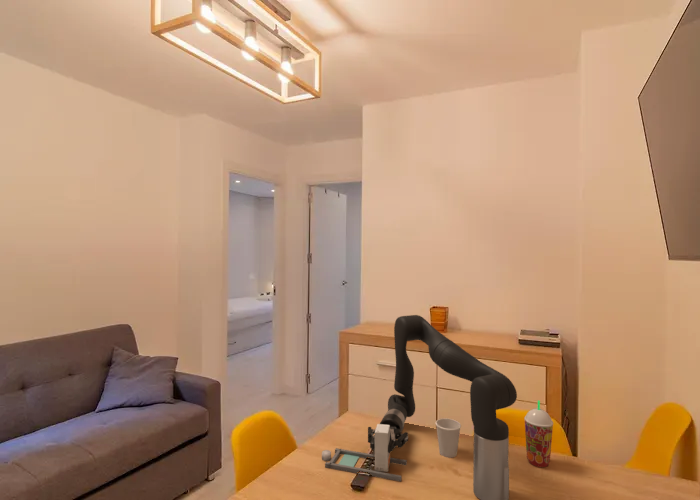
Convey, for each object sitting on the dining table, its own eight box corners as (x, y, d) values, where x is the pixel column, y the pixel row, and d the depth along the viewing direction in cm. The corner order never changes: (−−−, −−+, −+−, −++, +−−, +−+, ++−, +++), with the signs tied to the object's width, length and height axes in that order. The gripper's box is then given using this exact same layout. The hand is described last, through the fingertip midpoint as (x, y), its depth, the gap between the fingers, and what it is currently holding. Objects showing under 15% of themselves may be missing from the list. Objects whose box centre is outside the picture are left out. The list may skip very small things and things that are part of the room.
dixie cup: (460, 448, 137) (460, 419, 137) (461, 461, 129) (461, 430, 129) (435, 445, 139) (435, 416, 139) (434, 457, 131) (434, 427, 131)
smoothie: (518, 459, 130) (518, 398, 130) (536, 453, 134) (537, 394, 134) (540, 472, 123) (540, 407, 122) (558, 466, 126) (559, 403, 126)
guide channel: (406, 463, 127) (406, 457, 127) (400, 481, 118) (400, 474, 118) (327, 450, 136) (327, 444, 136) (316, 465, 126) (316, 459, 126)
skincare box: (388, 472, 121) (388, 433, 121) (374, 471, 122) (374, 432, 122) (390, 461, 127) (390, 424, 127) (377, 460, 128) (376, 423, 128)
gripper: (372, 410, 140) (358, 432, 124) (413, 416, 136) (403, 439, 120) (372, 431, 141) (358, 456, 124) (413, 437, 136) (403, 464, 120)
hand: (380, 448), depth 122 cm, fingers closed on skincare box, 4 cm apart
